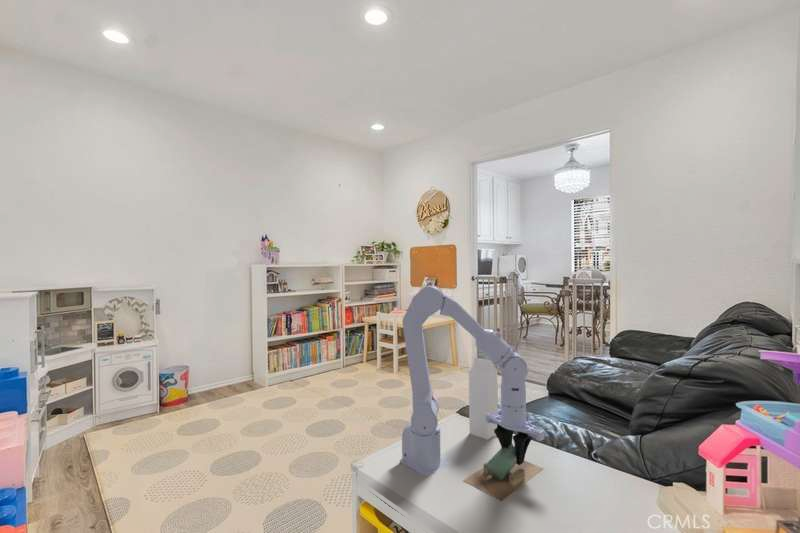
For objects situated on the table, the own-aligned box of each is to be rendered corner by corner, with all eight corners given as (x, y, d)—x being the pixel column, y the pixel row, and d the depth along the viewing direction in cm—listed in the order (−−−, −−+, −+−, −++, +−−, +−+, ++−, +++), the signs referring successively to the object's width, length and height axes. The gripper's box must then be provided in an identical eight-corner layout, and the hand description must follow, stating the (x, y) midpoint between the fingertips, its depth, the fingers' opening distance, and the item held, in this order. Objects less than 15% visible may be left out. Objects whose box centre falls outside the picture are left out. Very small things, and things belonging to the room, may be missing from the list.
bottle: (484, 459, 85) (506, 436, 91) (487, 476, 86) (509, 452, 92) (501, 466, 82) (523, 442, 88) (504, 484, 83) (525, 458, 89)
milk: (487, 442, 104) (486, 362, 104) (469, 435, 108) (468, 359, 108) (498, 434, 108) (497, 358, 108) (480, 428, 112) (479, 355, 112)
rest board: (462, 483, 84) (462, 472, 84) (506, 455, 96) (506, 446, 96) (501, 503, 77) (501, 492, 77) (543, 471, 89) (543, 460, 89)
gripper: (550, 407, 87) (551, 466, 87) (496, 392, 97) (497, 444, 97) (535, 415, 82) (536, 477, 82) (480, 399, 93) (481, 453, 93)
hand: (514, 460), depth 89 cm, fingers closed on bottle, 3 cm apart
